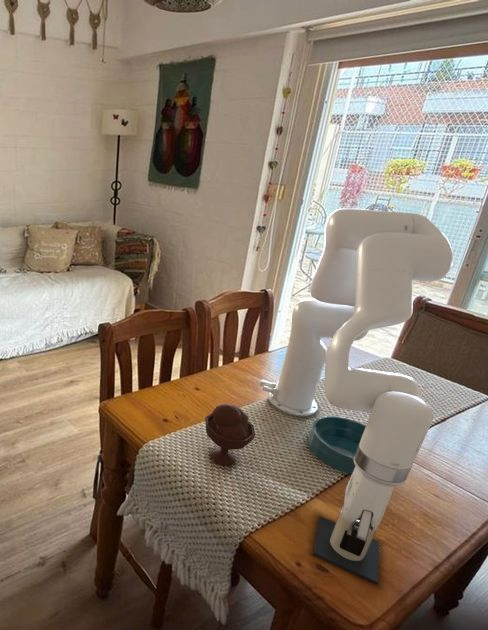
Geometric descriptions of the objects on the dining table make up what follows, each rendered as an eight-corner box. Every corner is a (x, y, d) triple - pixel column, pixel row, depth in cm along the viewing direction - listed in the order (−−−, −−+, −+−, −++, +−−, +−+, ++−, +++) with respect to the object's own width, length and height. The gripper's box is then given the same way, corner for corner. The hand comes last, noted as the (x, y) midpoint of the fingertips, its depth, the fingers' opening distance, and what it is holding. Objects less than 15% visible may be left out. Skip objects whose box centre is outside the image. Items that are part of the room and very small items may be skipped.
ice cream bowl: (242, 482, 97) (255, 427, 90) (192, 462, 102) (202, 408, 96) (251, 454, 105) (265, 402, 99) (205, 437, 110) (215, 386, 104)
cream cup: (328, 550, 81) (339, 520, 78) (331, 528, 85) (342, 500, 82) (364, 566, 78) (377, 536, 75) (365, 543, 82) (378, 514, 79)
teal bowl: (303, 459, 104) (308, 442, 102) (311, 424, 116) (316, 408, 114) (384, 489, 96) (392, 472, 94) (384, 448, 108) (391, 432, 106)
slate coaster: (312, 554, 81) (313, 552, 80) (319, 517, 88) (319, 515, 88) (377, 584, 76) (378, 582, 75) (377, 543, 83) (378, 540, 83)
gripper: (358, 427, 82) (331, 498, 89) (353, 483, 69) (322, 562, 76) (406, 442, 78) (375, 516, 85) (411, 506, 65) (373, 586, 72)
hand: (350, 537), depth 81 cm, fingers closed on cream cup, 5 cm apart
